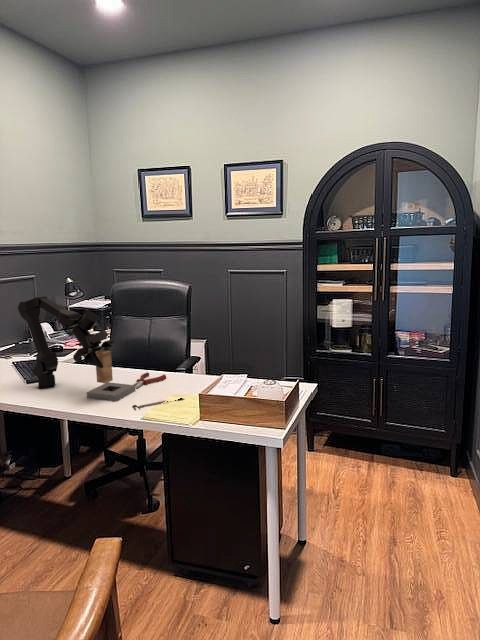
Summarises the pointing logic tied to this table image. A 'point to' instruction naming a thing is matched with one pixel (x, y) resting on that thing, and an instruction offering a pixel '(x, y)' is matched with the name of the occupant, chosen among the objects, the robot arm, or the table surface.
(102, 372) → the walnut peg
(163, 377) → the pliers
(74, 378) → the table surface
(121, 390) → the post plate
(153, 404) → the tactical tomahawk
